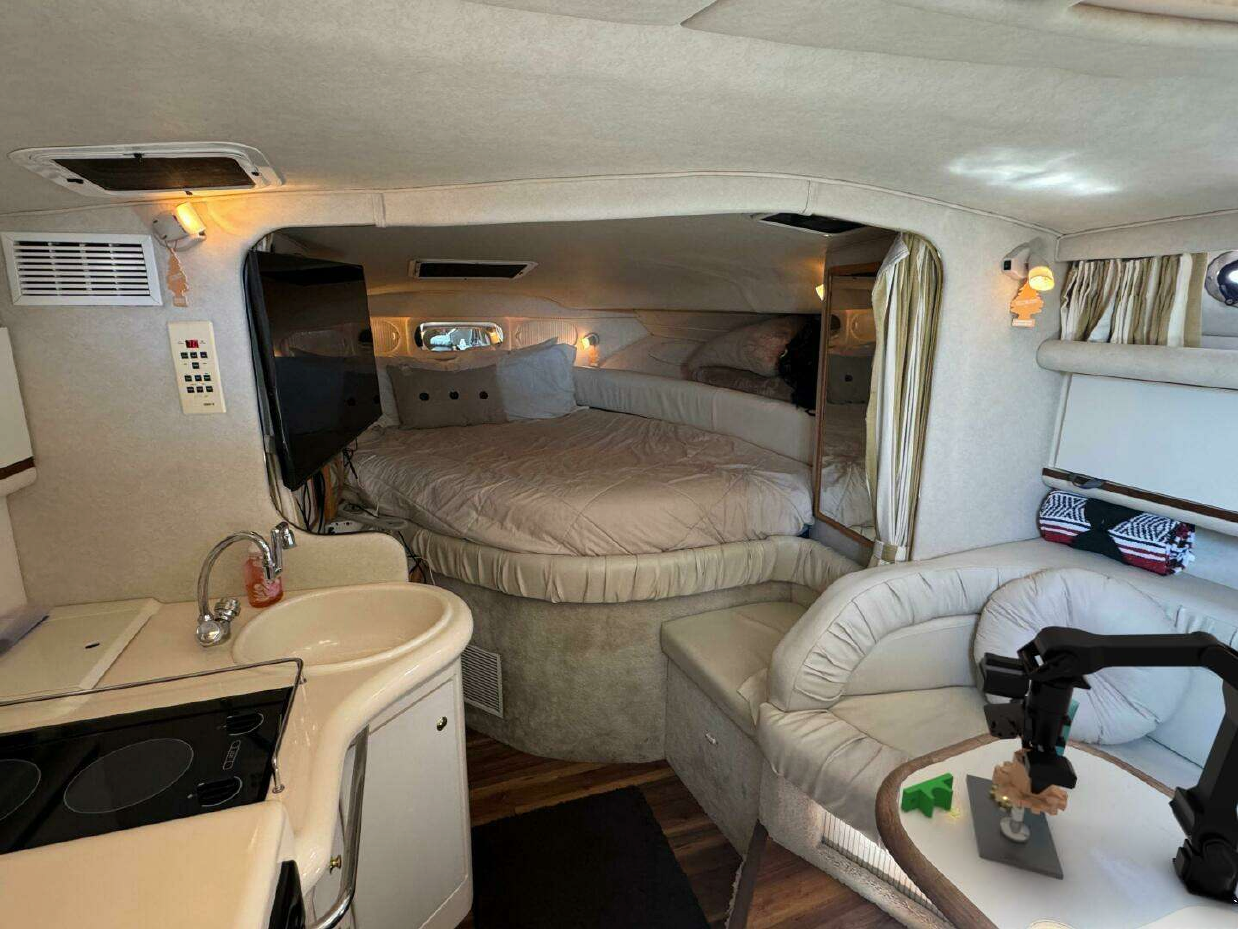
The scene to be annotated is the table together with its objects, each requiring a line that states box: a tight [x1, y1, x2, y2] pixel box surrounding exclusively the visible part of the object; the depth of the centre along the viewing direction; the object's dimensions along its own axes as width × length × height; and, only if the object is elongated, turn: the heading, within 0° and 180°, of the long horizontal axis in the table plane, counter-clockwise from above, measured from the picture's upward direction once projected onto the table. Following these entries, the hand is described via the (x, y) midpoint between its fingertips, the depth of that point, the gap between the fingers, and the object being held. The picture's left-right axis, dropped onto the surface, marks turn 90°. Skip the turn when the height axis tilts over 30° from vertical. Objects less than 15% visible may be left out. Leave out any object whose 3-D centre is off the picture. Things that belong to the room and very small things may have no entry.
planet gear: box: [991, 748, 1069, 817], centre depth 106 cm, size 11×11×6 cm
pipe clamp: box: [900, 772, 955, 819], centre depth 117 cm, size 11×4×5 cm, turn 110°
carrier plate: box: [965, 773, 1065, 881], centre depth 112 cm, size 12×19×7 cm, turn 158°
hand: (1030, 780), depth 106 cm, fingers closed on planet gear, 6 cm apart
